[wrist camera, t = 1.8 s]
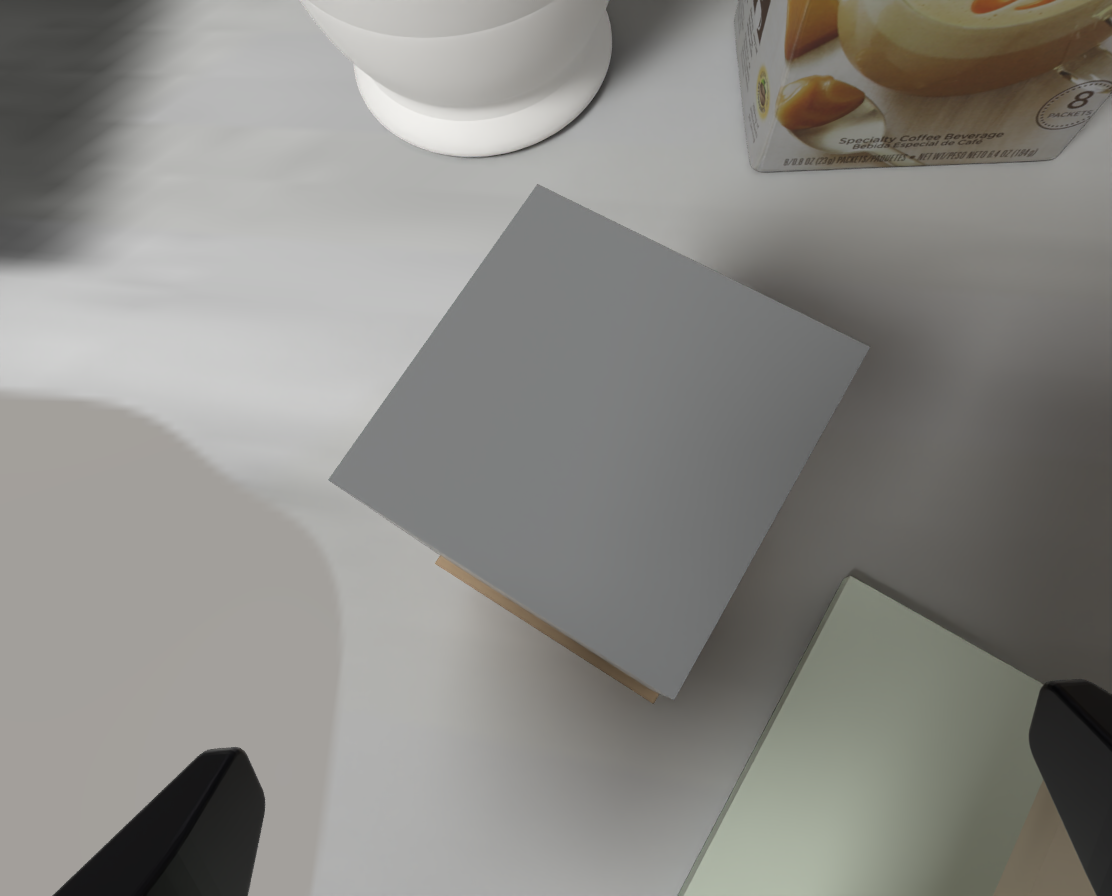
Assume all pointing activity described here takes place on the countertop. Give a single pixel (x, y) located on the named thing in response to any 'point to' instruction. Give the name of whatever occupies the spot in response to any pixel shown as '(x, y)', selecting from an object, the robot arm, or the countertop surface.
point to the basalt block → (603, 433)
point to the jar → (471, 66)
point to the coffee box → (918, 80)
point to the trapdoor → (1043, 857)
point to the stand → (880, 767)
